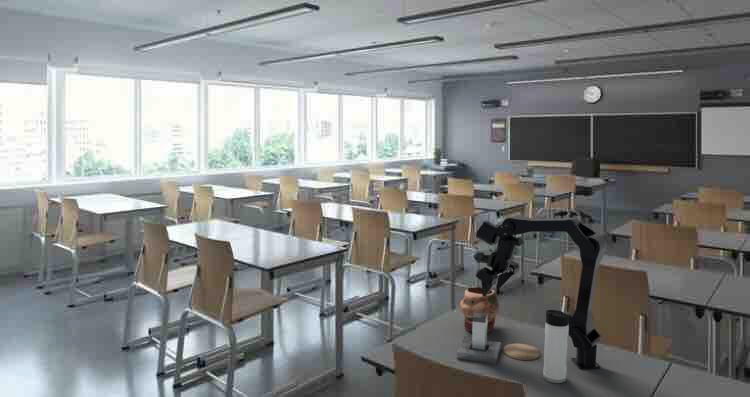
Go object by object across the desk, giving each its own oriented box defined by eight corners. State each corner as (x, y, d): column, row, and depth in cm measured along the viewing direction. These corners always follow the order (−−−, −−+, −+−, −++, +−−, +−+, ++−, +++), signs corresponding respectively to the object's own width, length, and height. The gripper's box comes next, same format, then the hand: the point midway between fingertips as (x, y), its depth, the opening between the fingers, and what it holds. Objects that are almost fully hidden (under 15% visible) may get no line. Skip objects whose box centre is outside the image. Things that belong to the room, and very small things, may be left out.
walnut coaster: (544, 359, 166) (545, 357, 166) (509, 360, 166) (509, 358, 165) (532, 344, 177) (532, 342, 177) (499, 345, 176) (499, 343, 176)
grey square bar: (486, 351, 172) (487, 314, 170) (484, 356, 168) (485, 318, 167) (473, 349, 174) (474, 312, 172) (471, 354, 170) (472, 316, 168)
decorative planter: (477, 315, 204) (478, 279, 202) (508, 322, 196) (509, 285, 194) (451, 332, 188) (452, 293, 186) (483, 340, 181) (484, 300, 178)
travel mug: (537, 375, 156) (540, 309, 153) (556, 371, 158) (559, 306, 155) (551, 385, 150) (554, 316, 147) (570, 381, 153) (574, 313, 150)
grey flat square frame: (500, 348, 174) (501, 342, 174) (495, 364, 163) (496, 357, 163) (463, 343, 179) (464, 337, 178) (456, 358, 167) (456, 352, 167)
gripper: (498, 235, 188) (485, 274, 193) (468, 246, 174) (456, 287, 180) (526, 250, 181) (512, 289, 187) (498, 262, 168) (483, 304, 173)
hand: (490, 292), depth 182 cm, fingers open, 9 cm apart
